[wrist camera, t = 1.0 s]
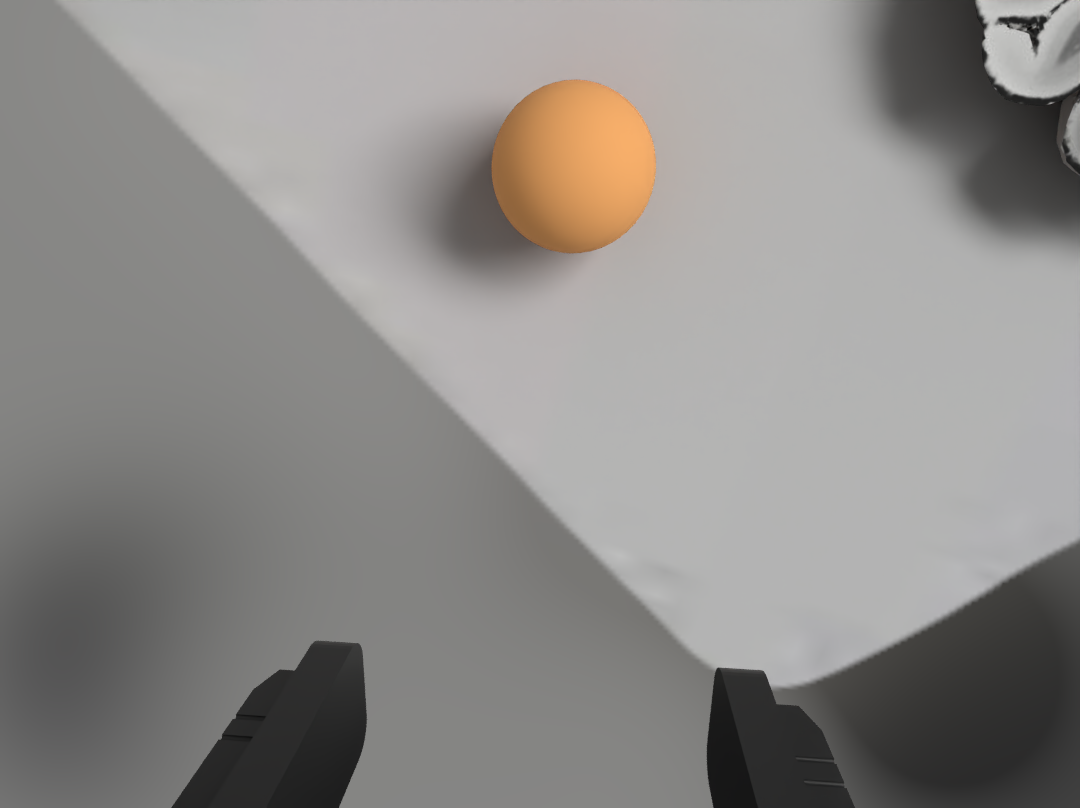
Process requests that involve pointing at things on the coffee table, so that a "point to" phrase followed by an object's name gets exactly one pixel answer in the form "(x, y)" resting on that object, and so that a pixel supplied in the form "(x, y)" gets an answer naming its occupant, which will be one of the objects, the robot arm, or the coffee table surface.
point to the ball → (573, 166)
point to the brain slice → (1037, 59)
